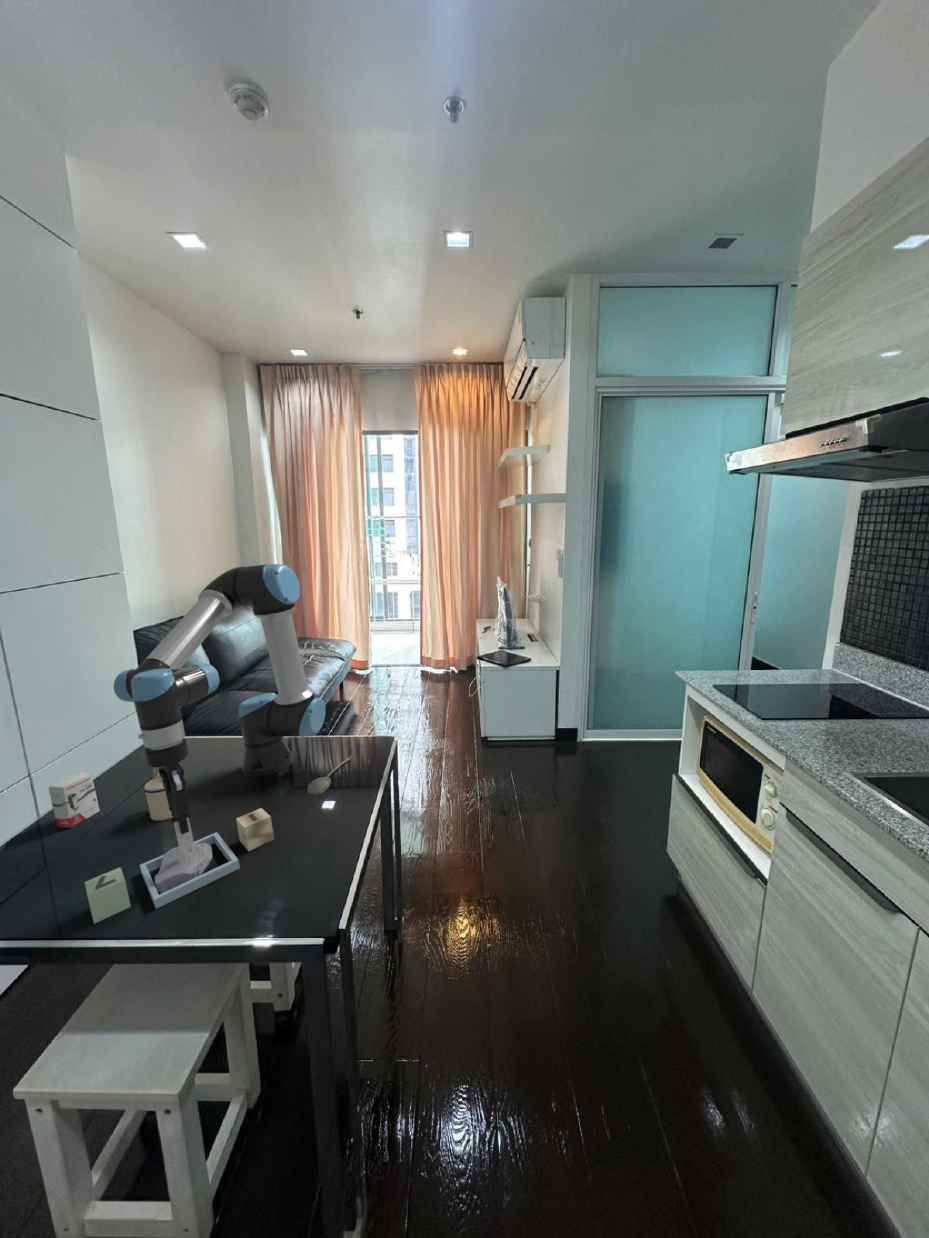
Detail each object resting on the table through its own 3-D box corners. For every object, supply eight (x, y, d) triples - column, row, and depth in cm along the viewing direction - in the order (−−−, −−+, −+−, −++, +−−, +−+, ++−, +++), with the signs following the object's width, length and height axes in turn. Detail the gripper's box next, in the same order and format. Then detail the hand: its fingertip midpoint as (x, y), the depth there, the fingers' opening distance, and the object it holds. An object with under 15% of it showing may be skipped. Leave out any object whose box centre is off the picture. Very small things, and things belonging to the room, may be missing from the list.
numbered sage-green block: (126, 892, 103) (120, 865, 102) (130, 906, 98) (124, 879, 97) (90, 908, 99) (84, 881, 98) (94, 924, 94) (87, 895, 93)
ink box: (71, 828, 131) (61, 787, 129) (56, 827, 132) (46, 787, 130) (101, 810, 139) (92, 771, 137) (87, 810, 140) (78, 771, 138)
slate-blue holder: (218, 839, 119) (216, 831, 119) (240, 868, 107) (238, 859, 107) (141, 873, 109) (139, 864, 108) (155, 908, 97) (154, 899, 96)
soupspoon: (302, 797, 138) (323, 799, 137) (301, 786, 138) (321, 788, 136) (342, 759, 159) (360, 761, 157) (340, 750, 158) (359, 751, 157)
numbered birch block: (265, 830, 122) (261, 807, 121) (274, 839, 117) (270, 815, 116) (240, 841, 118) (235, 817, 117) (248, 851, 113) (244, 827, 112)
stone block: (214, 858, 115) (166, 862, 112) (215, 839, 114) (166, 843, 111) (206, 892, 104) (151, 898, 100) (207, 871, 103) (152, 877, 100)
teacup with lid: (195, 806, 136) (187, 767, 134) (162, 824, 128) (154, 783, 127) (169, 799, 142) (161, 761, 140) (136, 816, 134) (128, 776, 132)
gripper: (138, 741, 106) (160, 840, 110) (150, 757, 96) (173, 865, 100) (177, 729, 110) (197, 825, 114) (192, 744, 101) (213, 847, 105)
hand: (186, 843), depth 107 cm, fingers closed
